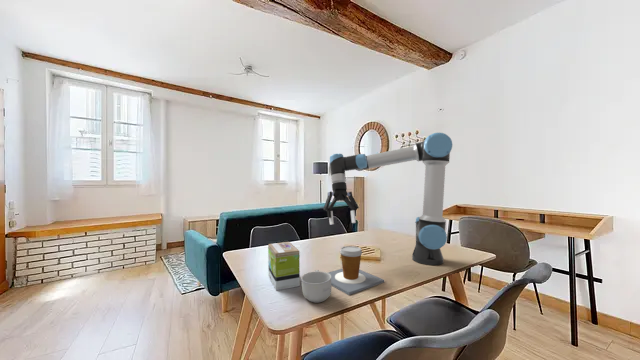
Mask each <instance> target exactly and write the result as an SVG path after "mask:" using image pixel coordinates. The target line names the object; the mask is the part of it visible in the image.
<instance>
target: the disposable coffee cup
mask: <svg viewBox="0 0 640 360" xmlns="http://www.w3.org/2000/svg"><path fill="white" fill-rule="evenodd" d="M339 253H340V259H341V266H342V267H341V269H343V277H344V278H346V279H349V280H354V279H357V278H358V276H359V269H360V268H361V267H360V265H361V260H362V259H361V258H362V254H363V251H362V248H361V247H359V246H355V245H353V246H352V245H345V246H342V247H341V248H340V250H339Z"/></svg>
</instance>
